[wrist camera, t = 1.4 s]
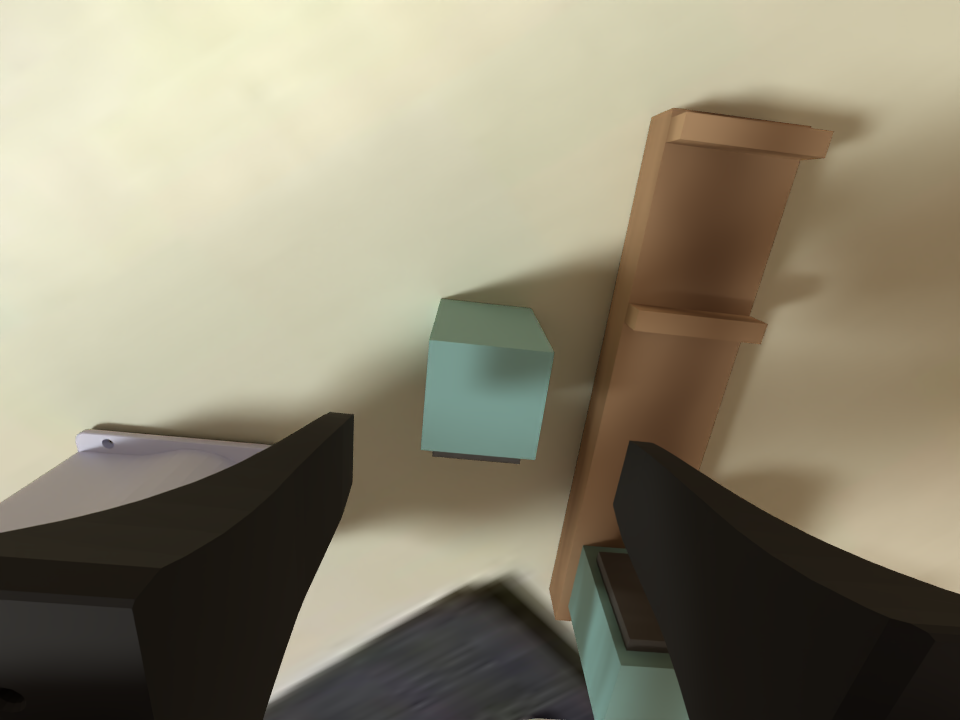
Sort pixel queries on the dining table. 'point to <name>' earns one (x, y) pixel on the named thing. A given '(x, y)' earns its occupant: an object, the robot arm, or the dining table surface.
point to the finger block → (485, 382)
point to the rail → (668, 371)
